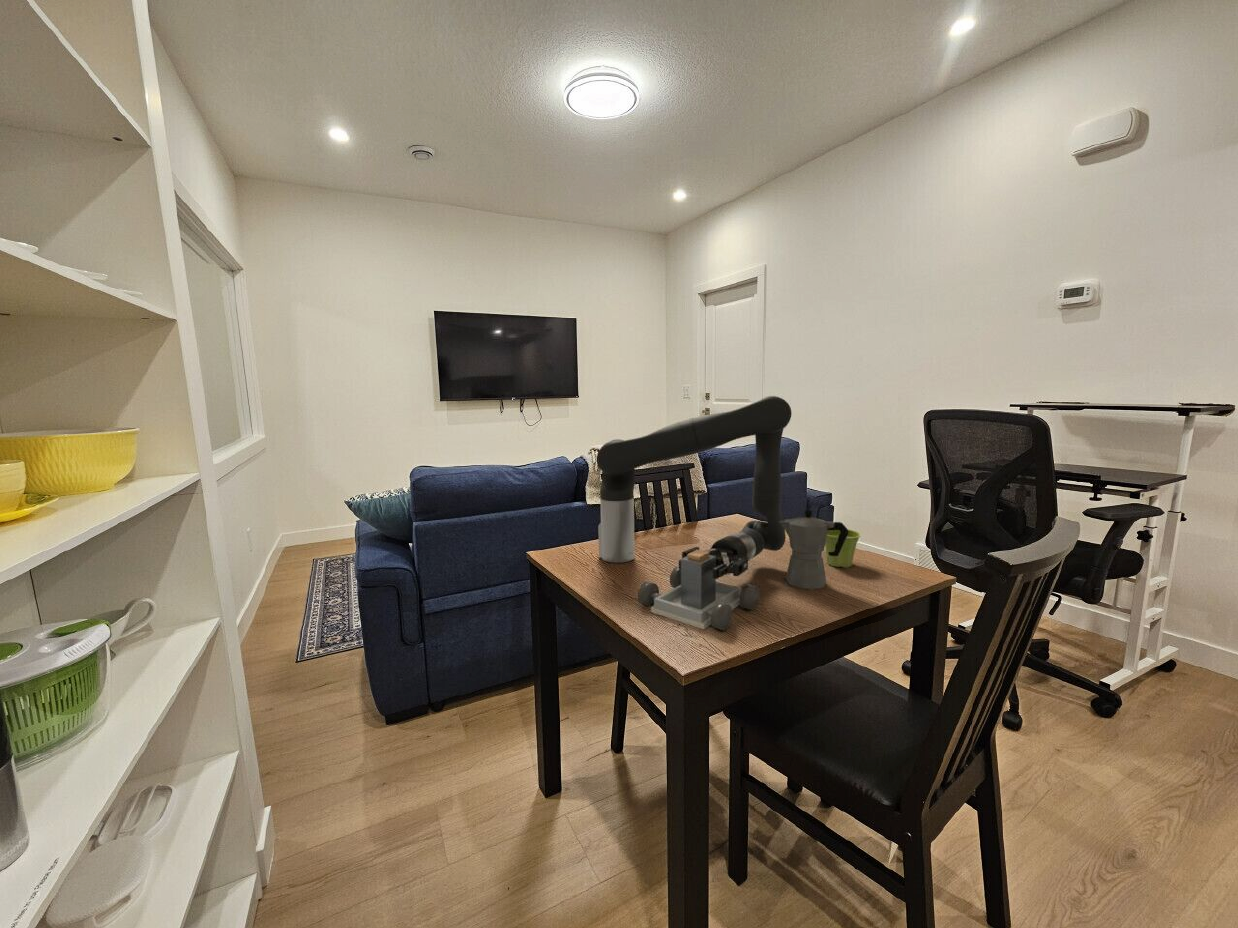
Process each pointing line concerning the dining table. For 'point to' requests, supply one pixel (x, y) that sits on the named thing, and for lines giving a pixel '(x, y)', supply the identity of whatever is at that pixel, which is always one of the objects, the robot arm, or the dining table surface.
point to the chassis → (710, 615)
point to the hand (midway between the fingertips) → (697, 569)
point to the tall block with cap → (698, 579)
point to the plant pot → (846, 550)
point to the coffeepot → (810, 549)
